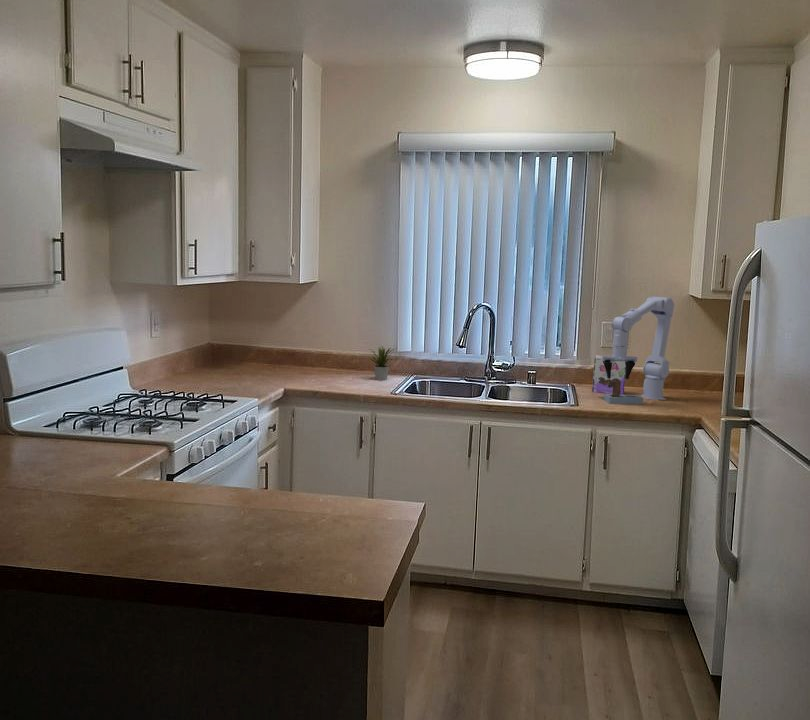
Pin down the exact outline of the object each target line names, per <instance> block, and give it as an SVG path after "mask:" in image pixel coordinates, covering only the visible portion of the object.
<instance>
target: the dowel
mask: <svg viewBox="0 0 810 720" xmlns="http://www.w3.org/2000/svg"><path fill="white" fill-rule="evenodd" d="M620 386H621V382H619V381H613V393H612V397H620Z"/></svg>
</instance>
